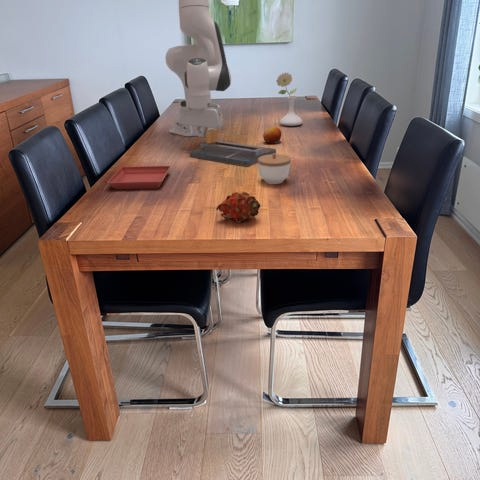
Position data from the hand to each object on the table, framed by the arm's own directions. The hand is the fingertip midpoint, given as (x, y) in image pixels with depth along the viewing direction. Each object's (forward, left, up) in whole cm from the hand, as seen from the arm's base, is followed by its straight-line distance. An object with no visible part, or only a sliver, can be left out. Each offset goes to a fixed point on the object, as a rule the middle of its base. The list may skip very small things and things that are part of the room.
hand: (202, 137), depth 193 cm
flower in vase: (+7, +59, -6) cm, 60 cm away
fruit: (+18, +25, -6) cm, 32 cm away
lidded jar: (+46, -19, -6) cm, 50 cm away
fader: (+5, 0, -3) cm, 6 cm away
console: (+15, 0, -6) cm, 16 cm away
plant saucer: (+7, -42, -6) cm, 43 cm away
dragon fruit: (+55, -52, -6) cm, 76 cm away
